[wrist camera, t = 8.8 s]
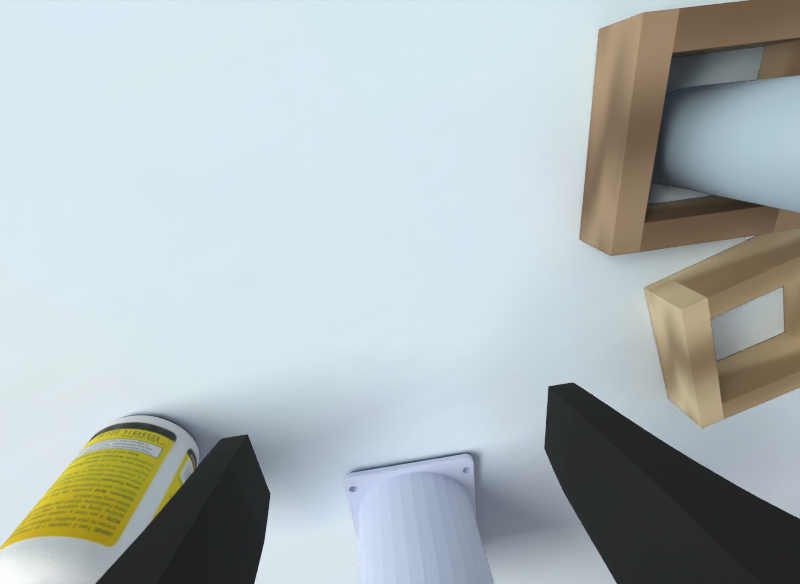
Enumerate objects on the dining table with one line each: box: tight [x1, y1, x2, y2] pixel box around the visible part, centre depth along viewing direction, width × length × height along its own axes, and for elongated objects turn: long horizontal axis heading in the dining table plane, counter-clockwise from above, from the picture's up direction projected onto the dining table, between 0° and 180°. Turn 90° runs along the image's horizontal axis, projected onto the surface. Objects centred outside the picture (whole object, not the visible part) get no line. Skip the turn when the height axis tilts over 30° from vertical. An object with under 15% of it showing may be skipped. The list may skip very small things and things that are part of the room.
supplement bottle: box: [0, 415, 199, 584], centre depth 16 cm, size 5×5×10 cm
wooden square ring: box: [580, 0, 800, 256], centre depth 15 cm, size 8×8×2 cm
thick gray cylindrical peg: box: [651, 75, 800, 213], centre depth 13 cm, size 4×4×8 cm
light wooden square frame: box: [644, 229, 800, 428], centre depth 20 cm, size 8×8×2 cm
